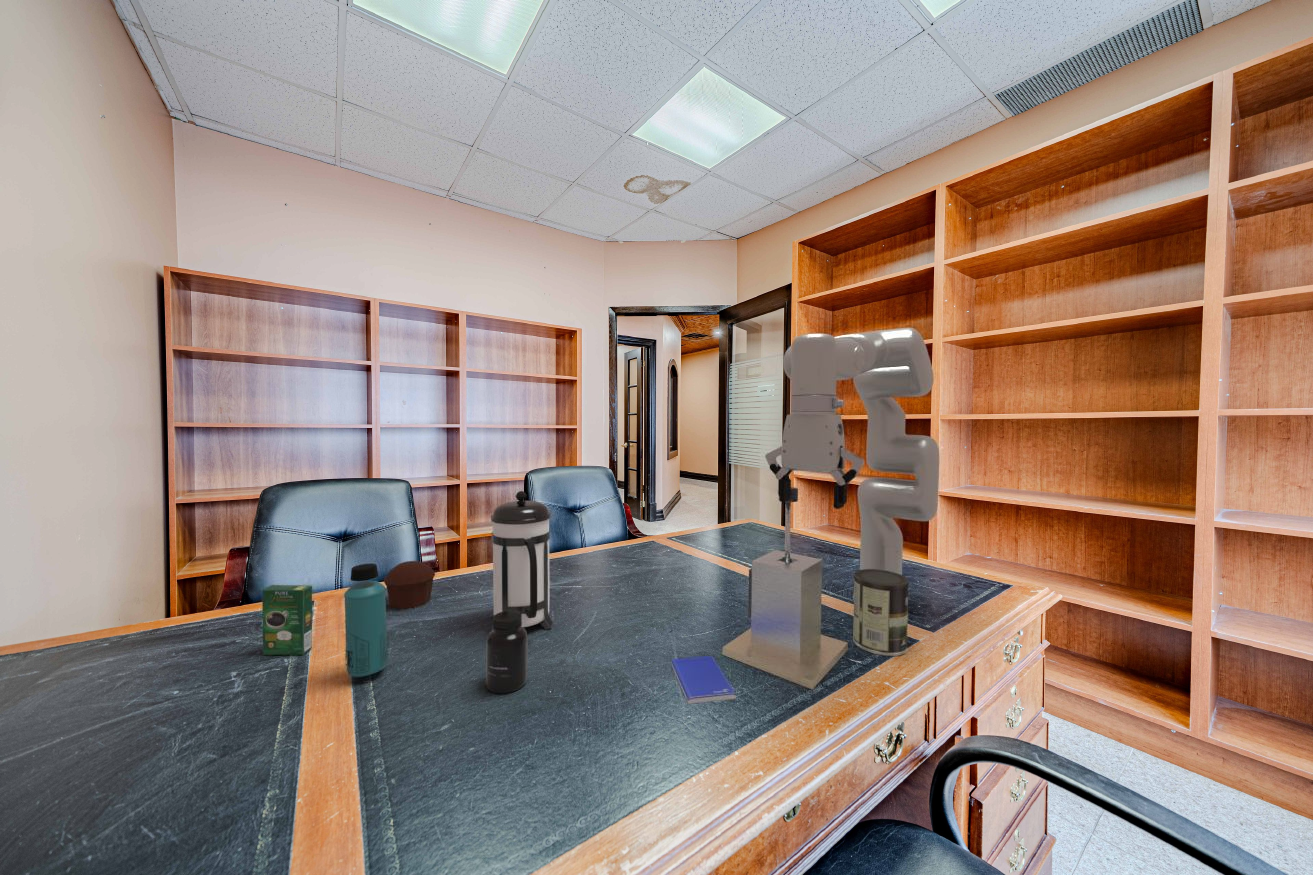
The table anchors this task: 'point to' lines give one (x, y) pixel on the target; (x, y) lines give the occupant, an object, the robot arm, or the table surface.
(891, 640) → the coffee can
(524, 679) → the supplement bottle
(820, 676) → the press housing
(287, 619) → the coffee box
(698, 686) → the hard drive
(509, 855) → the table surface
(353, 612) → the beverage bottle
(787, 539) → the plunger
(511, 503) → the coffee press
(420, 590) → the muffin
